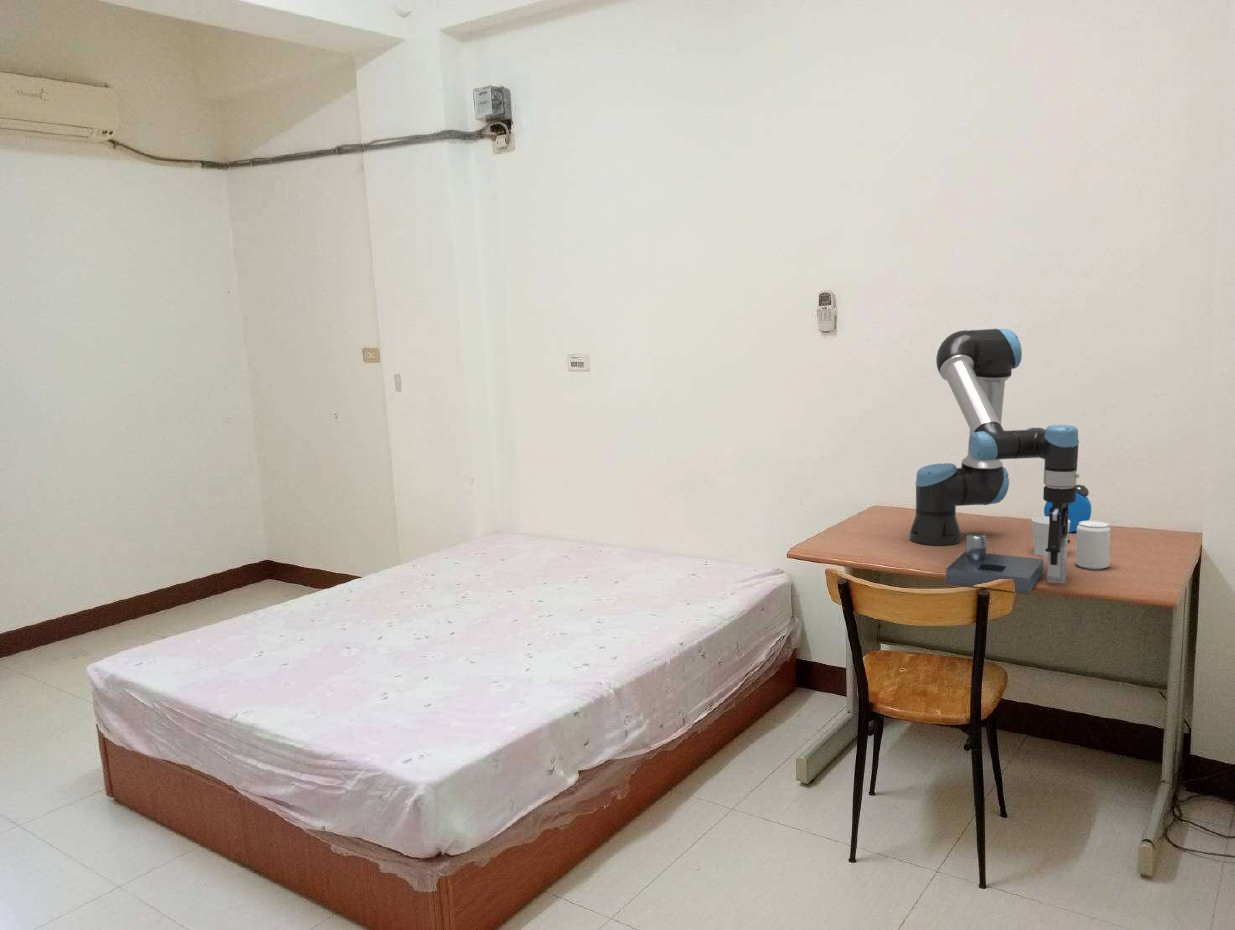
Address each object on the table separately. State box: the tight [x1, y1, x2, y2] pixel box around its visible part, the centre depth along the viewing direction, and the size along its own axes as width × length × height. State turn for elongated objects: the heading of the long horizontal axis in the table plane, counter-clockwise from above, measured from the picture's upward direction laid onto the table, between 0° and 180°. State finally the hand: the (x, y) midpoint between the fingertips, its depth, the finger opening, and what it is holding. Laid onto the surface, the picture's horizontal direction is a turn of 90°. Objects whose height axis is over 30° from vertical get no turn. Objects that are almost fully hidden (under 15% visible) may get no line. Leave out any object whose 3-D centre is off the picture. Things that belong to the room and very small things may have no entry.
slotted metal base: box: [945, 532, 1045, 595], centre depth 238 cm, size 20×20×10 cm
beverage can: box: [1075, 520, 1111, 571], centre depth 245 cm, size 8×8×12 cm
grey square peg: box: [1046, 534, 1069, 585], centre depth 234 cm, size 4×4×12 cm
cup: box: [1030, 516, 1070, 558], centre depth 259 cm, size 10×10×10 cm
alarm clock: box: [1043, 484, 1092, 533], centre depth 284 cm, size 13×6×15 cm, turn 61°
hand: (1056, 571), depth 234 cm, fingers open, 8 cm apart
